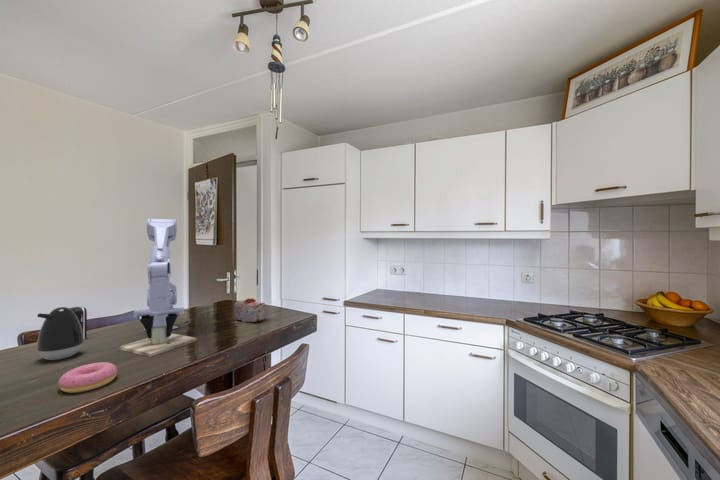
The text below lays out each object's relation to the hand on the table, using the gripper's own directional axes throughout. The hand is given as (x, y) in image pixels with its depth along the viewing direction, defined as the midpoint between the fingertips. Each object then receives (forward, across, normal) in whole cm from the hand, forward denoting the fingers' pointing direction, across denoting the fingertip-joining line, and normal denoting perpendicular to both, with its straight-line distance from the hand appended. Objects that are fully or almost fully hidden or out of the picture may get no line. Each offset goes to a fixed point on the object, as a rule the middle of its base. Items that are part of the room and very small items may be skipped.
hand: (159, 336), depth 103 cm
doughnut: (+3, -7, -27) cm, 28 cm away
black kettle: (+3, -25, -4) cm, 26 cm away
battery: (+3, -31, +16) cm, 35 cm away
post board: (+3, 0, 0) cm, 3 cm away
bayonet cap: (+2, 0, 0) cm, 2 cm away
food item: (+3, +27, +25) cm, 37 cm away
